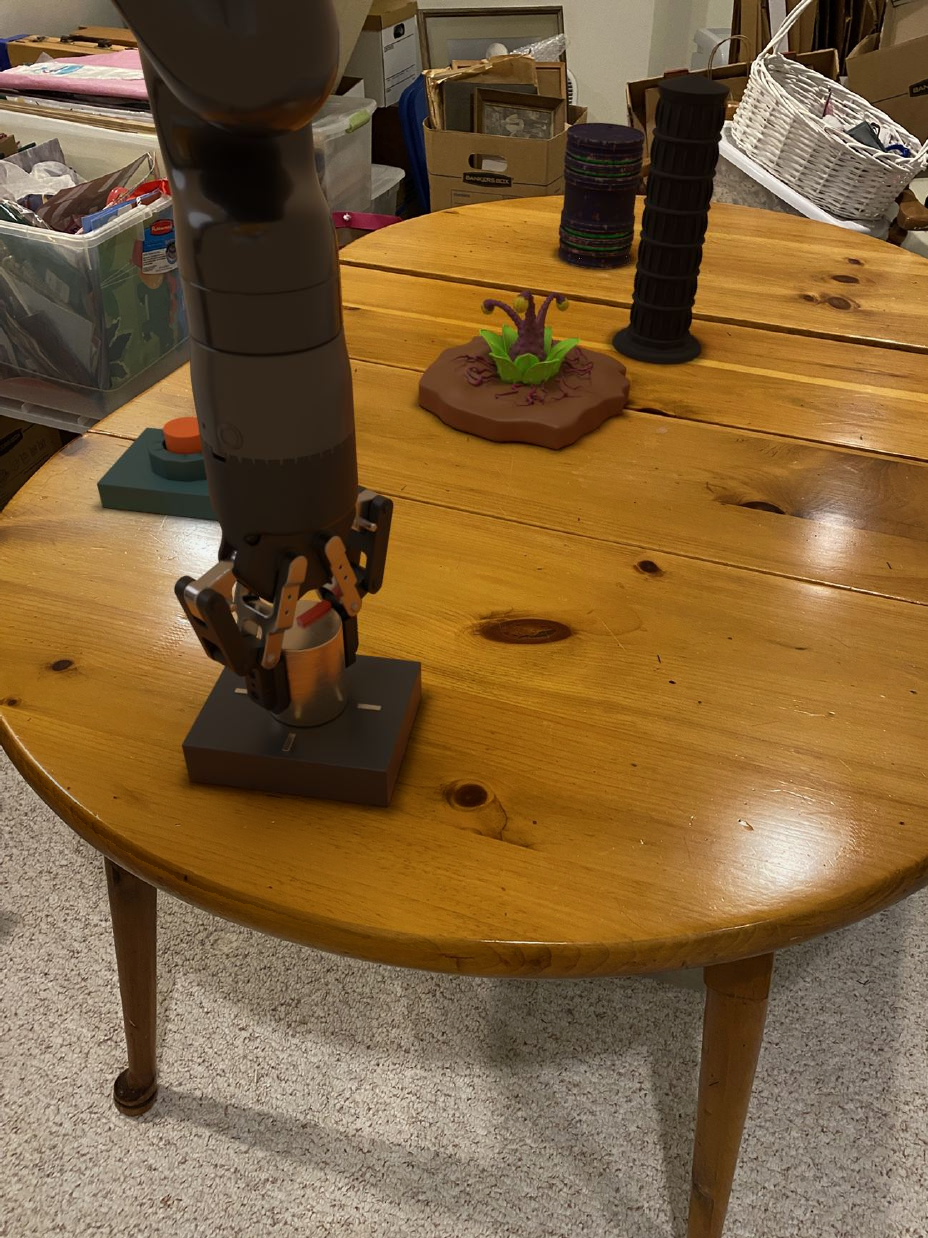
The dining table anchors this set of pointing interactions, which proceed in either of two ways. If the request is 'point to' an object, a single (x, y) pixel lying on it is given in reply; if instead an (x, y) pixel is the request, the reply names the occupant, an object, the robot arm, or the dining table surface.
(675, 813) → the dining table surface
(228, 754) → the panel
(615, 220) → the storage jar
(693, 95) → the handle grip
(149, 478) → the button block
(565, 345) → the plant
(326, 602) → the knob
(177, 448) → the button
